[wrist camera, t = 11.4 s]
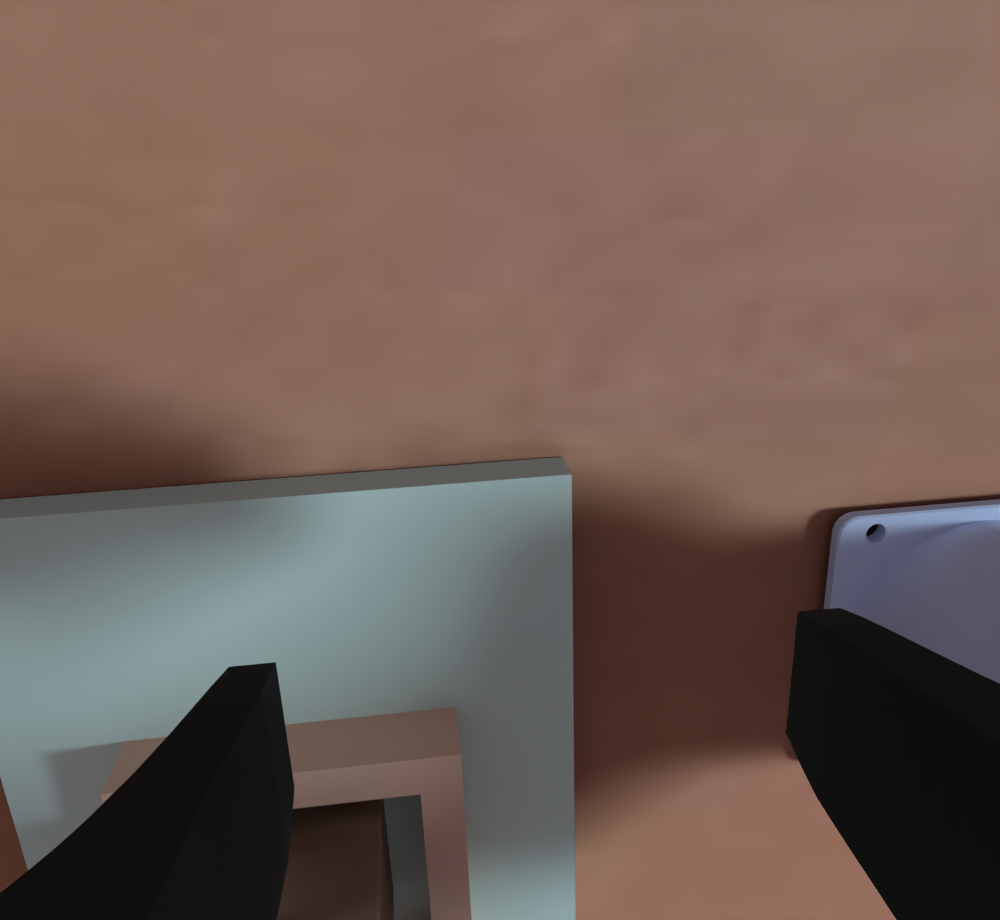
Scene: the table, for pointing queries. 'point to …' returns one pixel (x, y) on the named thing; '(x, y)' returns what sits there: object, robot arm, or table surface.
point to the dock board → (315, 658)
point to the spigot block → (338, 864)
